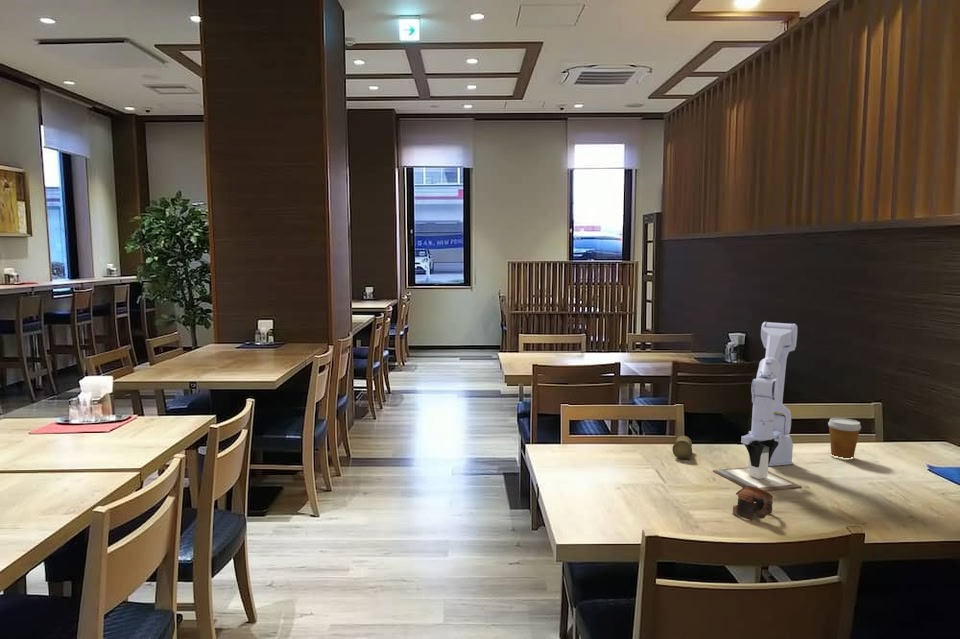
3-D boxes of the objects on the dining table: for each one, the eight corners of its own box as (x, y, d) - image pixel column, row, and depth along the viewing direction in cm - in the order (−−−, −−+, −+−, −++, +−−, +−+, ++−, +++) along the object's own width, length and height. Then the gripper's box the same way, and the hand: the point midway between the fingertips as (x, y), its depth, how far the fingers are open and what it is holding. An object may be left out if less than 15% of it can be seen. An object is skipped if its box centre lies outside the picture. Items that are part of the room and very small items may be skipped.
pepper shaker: (689, 461, 208) (691, 453, 218) (694, 443, 207) (695, 436, 217) (670, 456, 210) (672, 448, 220) (674, 438, 209) (676, 431, 219)
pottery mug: (721, 511, 167) (731, 481, 169) (752, 526, 168) (762, 496, 171) (751, 517, 156) (762, 484, 158) (784, 533, 157) (794, 501, 159)
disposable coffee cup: (865, 462, 209) (867, 425, 208) (835, 461, 210) (837, 424, 208) (848, 453, 219) (851, 417, 218) (820, 452, 219) (822, 417, 218)
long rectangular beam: (757, 473, 194) (758, 443, 193) (767, 477, 190) (769, 446, 190) (748, 475, 192) (749, 445, 191) (759, 479, 189) (760, 448, 188)
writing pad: (757, 467, 202) (757, 464, 201) (801, 487, 184) (801, 484, 184) (712, 471, 197) (712, 468, 197) (753, 492, 180) (753, 489, 180)
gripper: (768, 414, 196) (765, 458, 197) (733, 418, 189) (731, 464, 191) (788, 419, 190) (785, 465, 191) (754, 424, 183) (751, 471, 184)
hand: (759, 465), depth 190 cm, fingers closed on long rectangular beam, 4 cm apart
